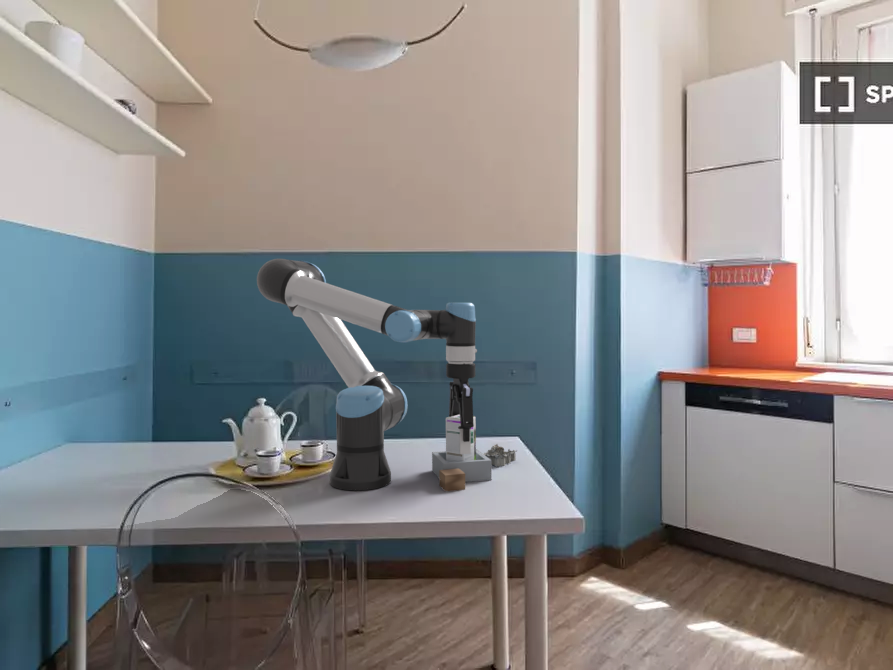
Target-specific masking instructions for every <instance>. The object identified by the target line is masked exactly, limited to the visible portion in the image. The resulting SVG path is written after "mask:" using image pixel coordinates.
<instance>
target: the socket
mask: <svg viewBox="0 0 893 670" xmlns="http://www.w3.org/2000/svg"><path fill="white" fill-rule="evenodd" d="M431 458H432V459H431V461H432V462H431V464H432V465H431V468H432V469H431V471H432V472H433V473H434V474H435V475H436V476H437V478H438V479H439V470H446V469H458V468H459V469H460V470H461V471H463V472H464V473H465V483H467V482H479V481H480V482H481V481H482V482H483V481H492V465H491V460H490V459H489V458H488V457H486V456H485V455H484V453H482V452H481V451H480V450H478V448H476V460H470V461H455V462H447V461H446V450H444V451H432V452H431Z"/></svg>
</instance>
